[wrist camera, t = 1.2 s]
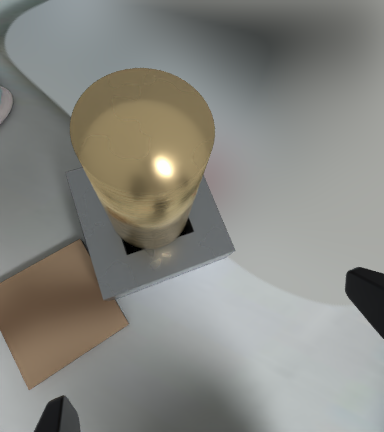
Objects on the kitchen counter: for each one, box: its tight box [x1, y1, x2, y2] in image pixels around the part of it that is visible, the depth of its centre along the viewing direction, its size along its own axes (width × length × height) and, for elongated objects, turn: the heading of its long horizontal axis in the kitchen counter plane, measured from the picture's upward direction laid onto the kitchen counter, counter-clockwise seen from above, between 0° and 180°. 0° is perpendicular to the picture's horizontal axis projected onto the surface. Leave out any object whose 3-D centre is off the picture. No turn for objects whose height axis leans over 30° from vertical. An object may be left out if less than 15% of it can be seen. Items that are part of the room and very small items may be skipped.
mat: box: [0, 239, 129, 390], centre depth 21 cm, size 7×7×1 cm
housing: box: [65, 167, 235, 301], centre depth 22 cm, size 9×9×3 cm
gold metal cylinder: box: [70, 68, 215, 249], centre depth 17 cm, size 5×5×13 cm
